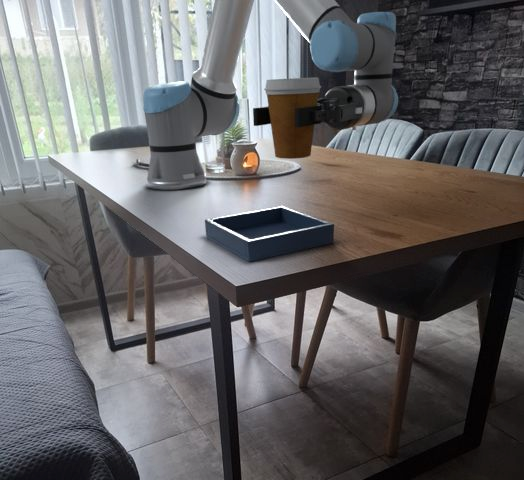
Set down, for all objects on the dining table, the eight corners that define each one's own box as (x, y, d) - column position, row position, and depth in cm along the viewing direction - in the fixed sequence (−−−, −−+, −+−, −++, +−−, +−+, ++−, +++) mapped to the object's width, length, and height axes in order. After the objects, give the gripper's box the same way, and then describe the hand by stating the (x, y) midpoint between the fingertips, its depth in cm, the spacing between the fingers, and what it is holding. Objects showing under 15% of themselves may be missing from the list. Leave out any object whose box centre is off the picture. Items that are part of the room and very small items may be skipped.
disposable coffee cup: (277, 151, 91) (275, 79, 85) (326, 152, 88) (328, 77, 82) (258, 159, 84) (254, 80, 78) (310, 161, 80) (311, 78, 74)
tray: (206, 237, 84) (204, 219, 82) (282, 222, 90) (282, 205, 89) (249, 262, 72) (247, 241, 70) (333, 243, 78) (334, 223, 77)
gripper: (394, 130, 90) (328, 145, 75) (303, 127, 102) (230, 139, 87) (398, 84, 87) (329, 90, 72) (303, 86, 98) (227, 92, 83)
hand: (275, 117), depth 79 cm, fingers closed on disposable coffee cup, 8 cm apart
